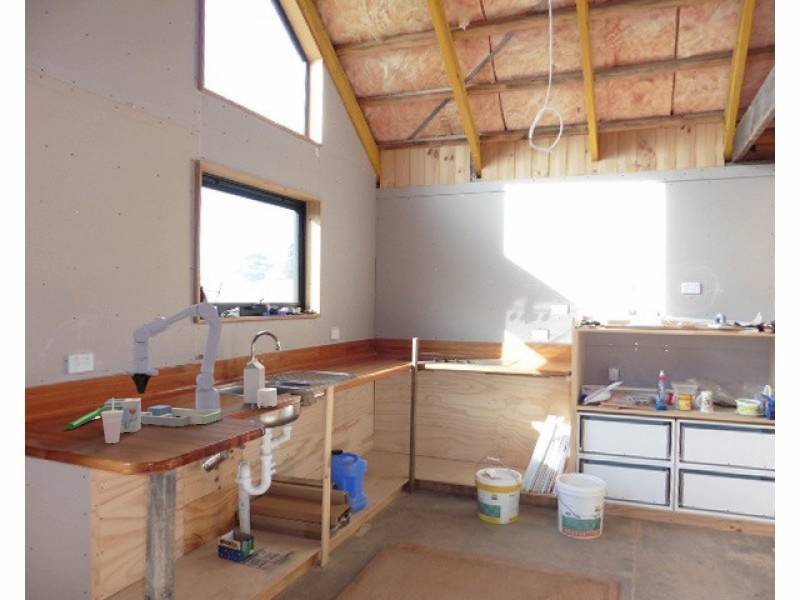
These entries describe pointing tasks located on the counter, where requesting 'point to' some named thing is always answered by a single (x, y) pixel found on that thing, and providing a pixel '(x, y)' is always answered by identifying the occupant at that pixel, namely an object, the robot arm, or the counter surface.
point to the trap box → (182, 417)
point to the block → (160, 410)
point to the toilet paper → (267, 397)
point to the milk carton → (253, 380)
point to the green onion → (86, 418)
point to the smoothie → (112, 424)
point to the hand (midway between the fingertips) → (141, 393)
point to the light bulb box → (127, 413)
